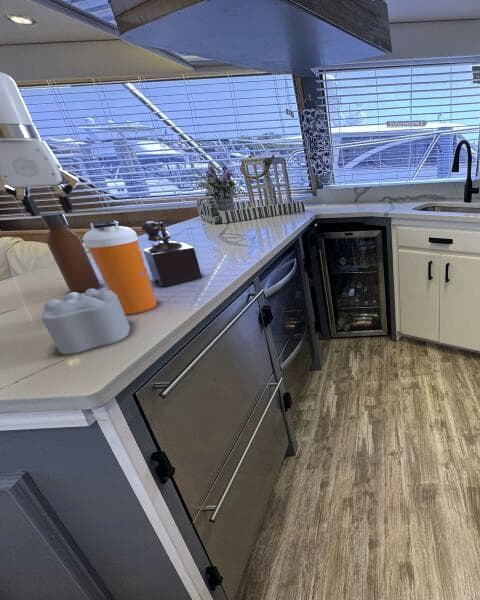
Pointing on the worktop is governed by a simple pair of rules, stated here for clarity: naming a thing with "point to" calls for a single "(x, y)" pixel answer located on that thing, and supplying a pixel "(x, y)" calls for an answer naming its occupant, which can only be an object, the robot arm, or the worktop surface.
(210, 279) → the worktop surface
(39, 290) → the worktop surface
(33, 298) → the worktop surface
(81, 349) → the lumpy-topped squat cylinder
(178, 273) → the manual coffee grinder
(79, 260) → the bottle
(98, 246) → the shaker bottle
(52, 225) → the cap
